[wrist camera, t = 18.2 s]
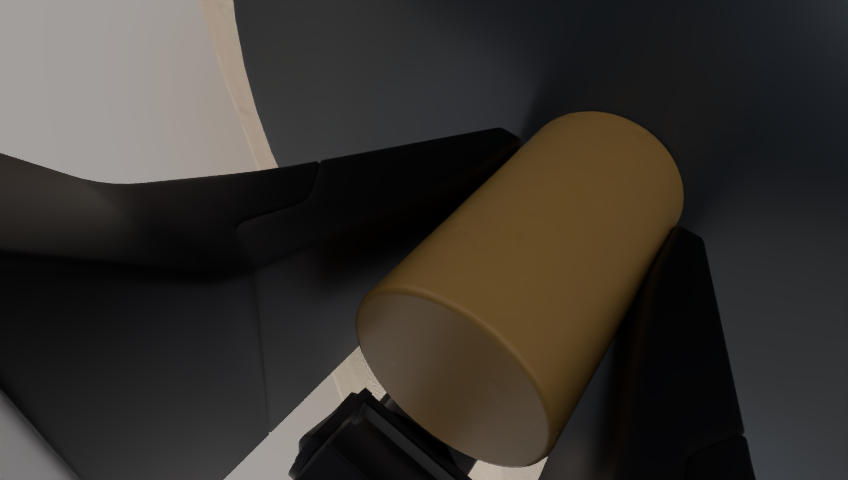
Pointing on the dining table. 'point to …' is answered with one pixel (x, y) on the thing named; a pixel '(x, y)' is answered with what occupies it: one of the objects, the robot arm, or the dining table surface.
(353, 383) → the dining table surface
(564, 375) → the pot lid
